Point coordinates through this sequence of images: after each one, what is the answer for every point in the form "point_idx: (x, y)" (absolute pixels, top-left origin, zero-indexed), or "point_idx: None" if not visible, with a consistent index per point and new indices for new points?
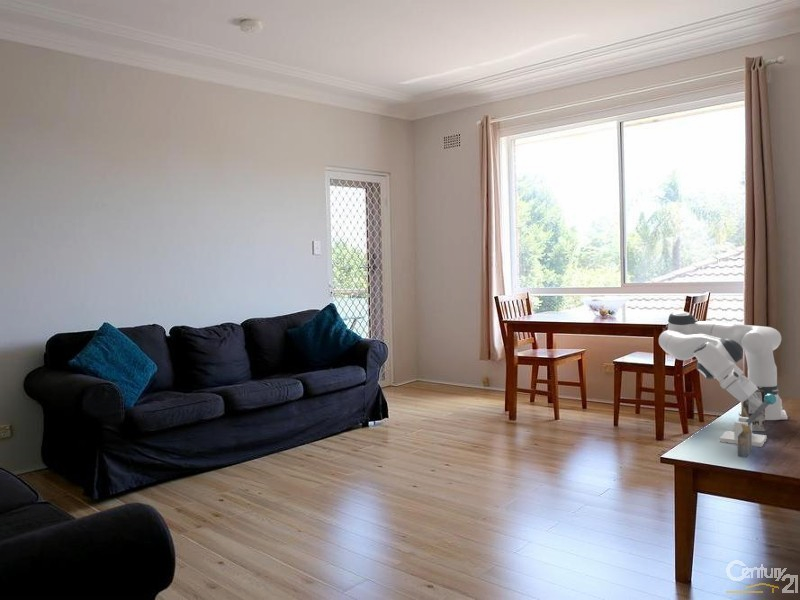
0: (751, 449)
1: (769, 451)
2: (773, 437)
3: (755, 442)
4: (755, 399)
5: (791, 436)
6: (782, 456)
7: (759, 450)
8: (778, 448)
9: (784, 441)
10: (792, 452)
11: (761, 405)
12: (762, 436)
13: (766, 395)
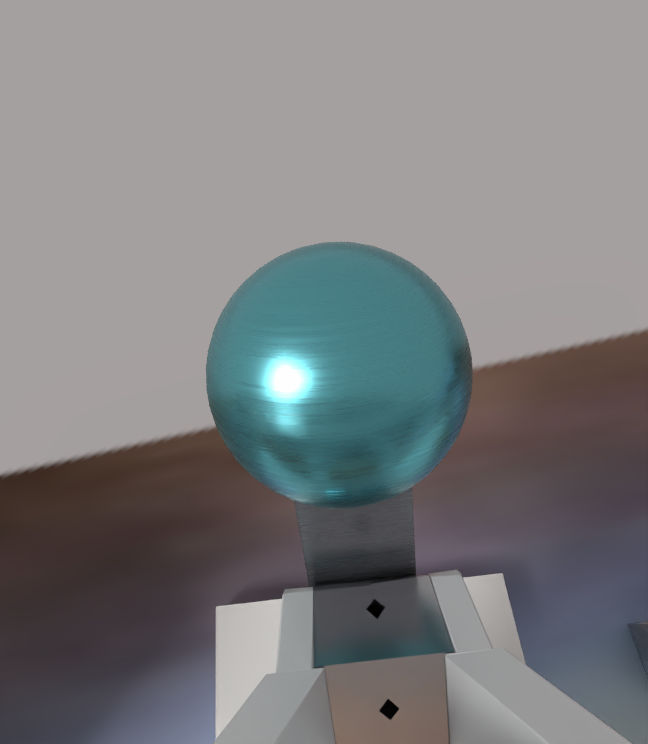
0: (640, 622)
1: (573, 491)
2: (133, 578)
3: (514, 625)
4: (566, 710)
5: (49, 475)
6: (627, 393)
7: (606, 560)
8: (445, 462)
9: (221, 478)
10: (482, 371)
11: (411, 575)
12: (272, 629)
13: (414, 394)
